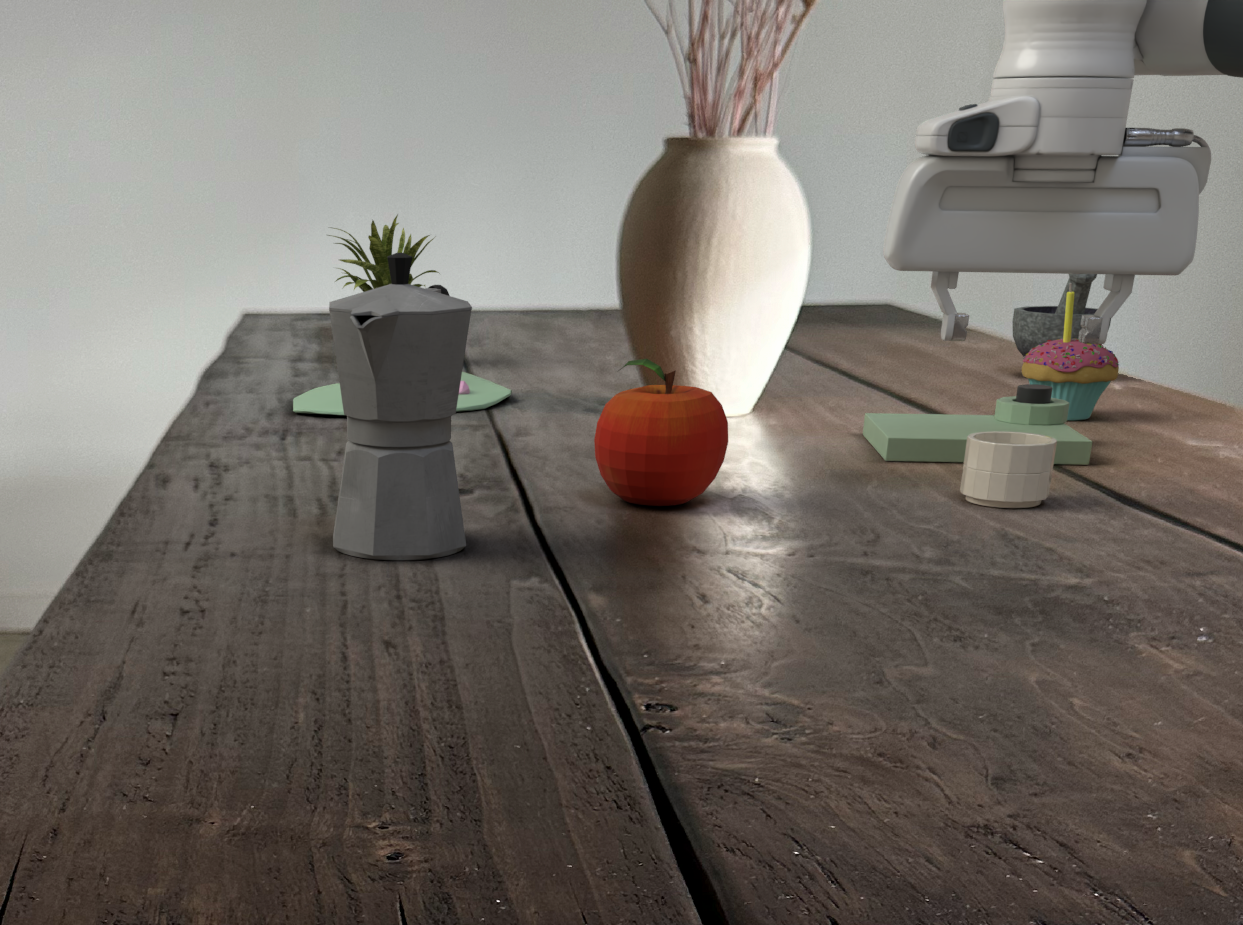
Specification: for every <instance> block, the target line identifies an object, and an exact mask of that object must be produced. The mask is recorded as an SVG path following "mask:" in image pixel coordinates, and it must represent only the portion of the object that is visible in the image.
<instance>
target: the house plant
mask: <svg viewBox="0 0 1243 925" xmlns="http://www.w3.org/2000/svg"><path fill="white" fill-rule="evenodd" d="M398 216H399V214H397V215H396V216H395V217H394V218H393V220H392V223H391V226H390V227H389V225H387V224H385V225H383V228H382V233H381V234H382V236H380V234H379V231H378V228H377V225H376V223H375V220H373V219H371V220H372V221H371V223H370V235H368V237H367V238H368V240H369V249H368V250H369V251H370V254H371V256H372V259H373V261H374V263H372V262H371V261H370V259H369V258H368V256H367V254H366V253H365V252H366V251H364V249H363V247H362V246H361V244H360V243H359V242H358V240H357V239H356V238H355V236H353V235H352V234H351V233H350V232H347V231H346V230H343V229H341V228H337V227H333V229H334V230H338V231H341V232H344V233H345V234H347V235H348V236H350V237H351V238H352V239H347V238H344V237H341V236H336V235H331V234H327V236H328V237H333V238H338V239H341V240H342V241H344V242H345V243H344V242H343V243H342V242H334V245H335V244H336V245H342V246H344V247H345V248H347V249H348V250H349V251H350V252H351V253H352V254H353V255H354V257H355V258H356V259H351V258H350V259H349V258H348V259H347V258H346V259H343V258H341V259H339V261H340V262H343V263H346V264H352V265H355V266H358V267H360V268H362V270H363V271H364V273H365V275H366V277H367V278H368V279H366V278H365V279H364V278H361V277H360V276H358V275H354V274H351V273H350V272H349V271H347V270H346V269H343V268H340V267H337V269H338V270H341V271H343V273H344V274H346V275H342V276H340V277H337V279H336V280H335V281H334V283H335V282H338V281H339V280H342V279H344V278H350V279H351V280H352V281H347V282H345V284H344V285H343V287H342V289H345V287H347V286H350V285H353V284H354V287H353V291H355V290H356V288H359V289H360V290H361V291H362V292H365V291H369V290H372V289H375V288H379V287H382V286H386V285H389V284H392V283H391V277H390V271H389V265H388V259H387V256H390V255H392V254H393V243H394V237H395V236H394V234H395V231H396V230H395V229H396V227H397V226H398V225H399V224H400V222H397V219H398ZM327 228H328V229H332V227H330V226H329V227H328V226H327ZM430 236H431V234H428V235H425V236H423V237H421V238H420V239H419V240H418V241H417V242H415V243H414V244H413V245H412V233H410V234H409V236H408V239H407V242H406V231H405V228H404V227H402V230H401V234H400V237H399V242H398V247H397V251H396V253H405V254H407V255H410V256H412V257H413V258H412V264H411V267H413V264H414V263H415V262H416V260H417V259H418V258H419V257H420V255H421V254H422V253H423V252H424V250H425V249H426V247H427V246H428V245H429V244H430V243H431V242H433V240H434V239H435V238H436V236H434V237H433V238H432V239H430V240H429V241H428V242H426V244H425V245H424V246H423V248H422V249H421V250H420V251H419V249H420V248H421V246H422V244H423V243H424V241H425V240H426V239H427V238H428V237H430ZM352 242H353V243H352ZM354 243H355V244H356V245H355V244H354ZM418 251H419V252H418ZM332 268H334V269H335V267H332ZM369 271H370V272H371V274H372V276H373V277H374V279H373V278H372V276H371V274H370V272H369ZM428 273H439V275H441V276H442V274H441V273H440V272H439V271H437V270H436V269H435V270H434V269H430V270H426V271H424V272H422V273H420V274H418V275H416V276H415V277H414V276H413V274H412V273H410V275H409V281H408V284H411V285H412V283H413V281H414V280H416V279H418V278H419V277H421V276H422V275H425V274H428ZM367 282H370V284H371V285H370V284H368V283H367ZM413 285H414V286H417V287H421V288H422V286H423V287H424V289H425V288H427V287H426V284H421V283H414V284H413Z"/></svg>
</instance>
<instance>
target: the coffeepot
mask: <svg viewBox="0 0 1243 925" xmlns="http://www.w3.org/2000/svg"><path fill="white" fill-rule="evenodd" d="M412 258H413V257H412V256H410V255H407V254H405V253H403V252H402V253H397V252H395V253H392V255H390V256H387V259H388V265H389V271H390V277H391V283H392V284H389V285H386V286H382V287H379V288H375V289H372V290H369V291H365V292H363V291H362V292H358V293H355V294H352V295H347V296H345V297H342V298H340V299H335V300H332V301H329V304H328V310H329V311H328V312H329V318H330V325H331V332H332V340H333V347H334V355H335V361H336V368H337V376H338V381H339V382H338V383H340V390H341V397H342V404H343V411H344V415H343V416H346V439H347V441H346V442H345V449H344V456H343V461H342V462H343V463H342V471H341V478H340V485H339V492H338V499H337V505H336V513H335V519H334V525H333V526H334V528H333V534H332V547H333V548H334V549H335V550H336V551H337V552H339V553H341V554H345V555H348V556H352V557H355V558H360V559H361V558H362V559H367V560H368V559H369V560H379V561H380V560H381V561H419V560H429V559H436V558H442V557H446V556H450V555H453V554H456V553H459V552H461V551H462V550H463V549H464V548H466V547H467V540H466V534H465V526H464V525H465V524H464V519H463V512H462V511H463V510H462V504H461V496H460V490H459V481H458V475H457V467H456V460H455V453H454V452H455V451H454V446H453V442H452V441H451V439H452V416H454V415H456V413H457V412H456V408H457V402H458V395H459V388H460V382H461V375H462V372H463V369H464V368H463V367H464V362H465V355H466V348H467V342H468V336H469V330H470V329H469V328H470V323H471V322H470V320H471V315H472V310H473V306H472V304H470V302H469V301H467V300H465V299H461V298H458V297H455V296H452V295H450V293H449V291H448V288H446V287H445V286H443V285H441V284H432V285H430V286H428V287H426V288H425V287H422V286H421V287H417V286H414V284H412V283H411V284H408V281H409V275H410V274H411V268H412V266H411V264H412Z"/></svg>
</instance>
